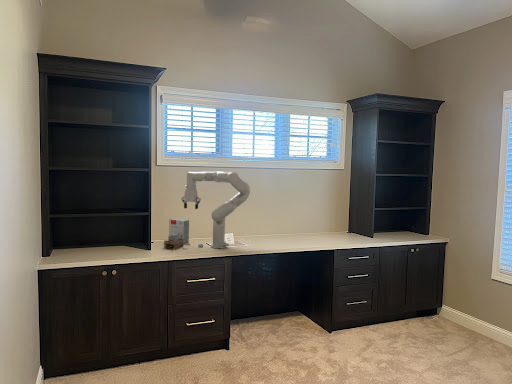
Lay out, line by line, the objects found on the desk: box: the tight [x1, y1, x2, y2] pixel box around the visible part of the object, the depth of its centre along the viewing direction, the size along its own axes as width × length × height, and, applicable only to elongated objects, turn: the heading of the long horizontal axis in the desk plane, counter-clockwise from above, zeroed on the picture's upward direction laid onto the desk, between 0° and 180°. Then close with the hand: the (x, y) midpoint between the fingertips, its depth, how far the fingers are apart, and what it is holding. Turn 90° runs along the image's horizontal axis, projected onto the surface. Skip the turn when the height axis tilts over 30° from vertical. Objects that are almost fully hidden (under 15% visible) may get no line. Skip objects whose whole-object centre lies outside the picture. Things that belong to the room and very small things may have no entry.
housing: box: [167, 234, 180, 242], centre depth 301 cm, size 8×6×6 cm
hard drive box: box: [168, 217, 190, 246], centre depth 318 cm, size 16×8×20 cm, turn 62°
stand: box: [163, 239, 184, 250], centre depth 302 cm, size 10×12×6 cm
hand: (191, 208), depth 307 cm, fingers open, 9 cm apart
